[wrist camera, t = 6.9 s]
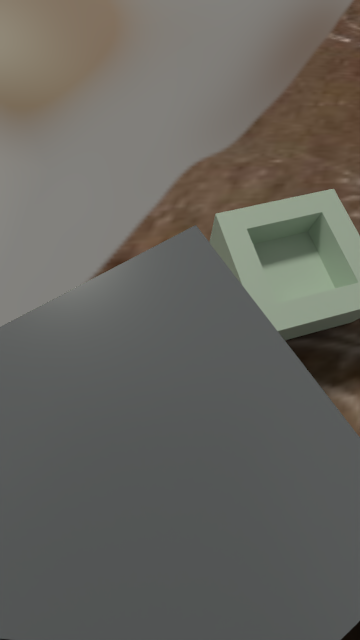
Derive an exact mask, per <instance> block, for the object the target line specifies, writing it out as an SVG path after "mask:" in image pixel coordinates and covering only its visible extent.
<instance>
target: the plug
mask: <svg viewBox="0 0 360 640" xmlns="http://www.w3.org/2000/svg"><path fill="white" fill-rule="evenodd" d="M359 621H360V437H359V436H358V435H357V433H356V432H355V431H354V430H353V428H352V427H351V426H350V424H349V423H348V422H347V421H346V419H345V418H344V417H343V415H342V414H341V413H340V411H339V410H338V409H337V408H336V406H335V405H334V404H333V402H332V401H331V400H330V398H329V397H328V396H327V395H326V393H325V392H324V391H323V389H322V388H321V387H320V386H319V384H318V383H317V382H316V380H315V379H314V378H313V376H312V375H311V374H310V373H309V371H308V370H307V369H306V367H305V366H304V365H303V363H302V362H301V361H300V360H299V358H298V357H297V356H296V354H295V353H294V352H293V351H292V349H291V348H290V347H289V345H288V344H287V343H286V341H285V340H284V339H283V338H282V336H281V335H280V334H279V332H278V331H277V330H276V328H275V327H274V326H273V325H272V323H271V322H270V321H269V319H268V318H267V317H266V316H265V314H264V313H263V312H262V310H261V309H260V308H259V306H258V305H257V304H256V303H255V301H254V300H253V299H252V297H251V296H250V295H249V293H248V292H247V291H246V290H245V288H244V287H243V286H242V284H241V283H240V282H239V281H238V279H237V278H236V277H235V275H234V274H233V273H232V271H231V270H230V269H229V268H228V266H227V265H226V264H225V262H224V261H223V260H222V258H221V257H220V256H219V255H218V253H217V252H216V251H215V249H214V248H213V247H212V246H211V244H210V243H209V242H208V240H207V239H206V238H205V236H204V235H203V234H202V233H201V231H200V230H199V229H198V227H197V226H196V225H195V226H193V227H191V228H189V229H187V230H186V231H184V232H182V233H180V234H178V235H176V236H174V237H172V238H170V239H168V240H166V241H164V242H163V243H161V244H159V245H157V246H155V247H153V248H151V249H149V250H147V251H145V252H143V253H141V254H140V255H138V256H136V257H134V258H132V259H130V260H128V261H126V262H124V263H122V264H120V265H118V266H116V267H115V268H113V269H111V270H109V271H107V272H105V273H103V274H101V275H99V276H97V277H95V278H93V279H92V280H90V281H88V282H86V283H84V284H82V285H80V286H78V287H76V288H74V289H72V290H70V291H69V292H67V293H65V294H63V295H61V296H59V297H57V298H55V299H53V300H51V301H49V302H47V303H46V304H44V305H42V306H40V307H38V308H36V309H34V310H32V311H30V312H28V313H26V314H24V315H23V316H21V317H19V318H17V319H15V320H13V321H11V322H9V323H7V324H5V325H3V326H2V327H0V640H341V639H342V638H343V637H344V636H345V635H346V634H347V633H348V632H349V631H350V630H351V629H352V628H353V627H354V626H355V625H356V624H357V623H358V622H359Z"/></svg>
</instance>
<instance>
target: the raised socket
mask: <svg viewBox="0 0 360 640" xmlns="http://www.w3.org/2000/svg"><path fill="white" fill-rule="evenodd" d="M209 243H210V244H211V246H212V247H213V248H214V249H215V251H216V252H217V253H218V255H219V256H220V257H221V258H222V260H223V261H224V262H225V264H226V265H227V266H228V268H229V269H230V270H231V271H232V273H233V274H234V275H235V277H236V278H237V279H238V281H239V282H240V283H241V284H242V286H243V287H244V288H245V290H246V291H247V292H248V293H249V295H250V296H251V297H252V299H253V300H254V301H255V303H256V304H257V305H258V306H259V308H260V309H261V310H262V312H263V313H264V314H265V316H266V317H267V318H268V319H269V321H270V322H271V323H272V325H273V326H274V327H275V328H276V330H277V331H278V332H279V334H280V335H281V336H282V338H283V339H284V340H288V339H292V338H296V337H299V336H303V335H307V334H310V333H314V332H318V331H321V330H325V329H329V328H333V327H336V326H340V325H344V324H347V323H351V322H353V321H355V320H357V319H359V318H360V236H359V234H358V232H357V230H356V228H355V227H354V225H353V223H352V221H351V219H350V218H349V216H348V214H347V212H346V210H345V208H344V207H343V205H342V203H341V201H340V199H339V197H338V196H337V194H336V192H335V190H334V189H330V190H325V191H321V192H316V193H311V194H306V195H302V196H297V197H292V198H288V199H283V200H278V201H274V202H269V203H264V204H260V205H255V206H250V207H246V208H241V209H236V210H231V211H227V212H222V213H217V214H215V219H214V224H213V228H212V233H211V238H210V242H209Z"/></svg>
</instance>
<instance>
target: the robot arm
mask: <svg viewBox="0 0 360 640" xmlns="http://www.w3.org/2000/svg"><path fill="white" fill-rule="evenodd" d="M341 640H360V621H359V622H358V623H357V624H356V625H355V626H354V627H353V628H352V629H351V630H350V631H349V632H348V633H347V634H346V635H345V636H344V637H343V638H342V639H341Z"/></svg>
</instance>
